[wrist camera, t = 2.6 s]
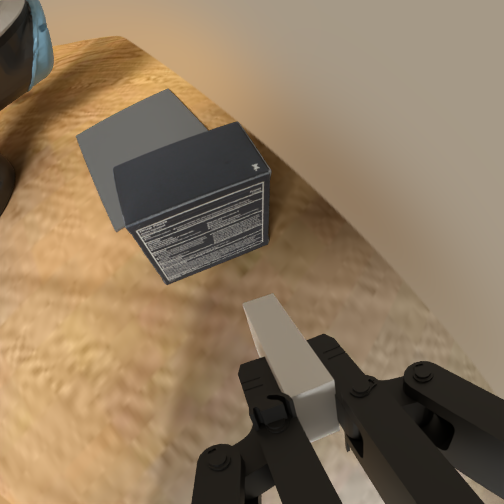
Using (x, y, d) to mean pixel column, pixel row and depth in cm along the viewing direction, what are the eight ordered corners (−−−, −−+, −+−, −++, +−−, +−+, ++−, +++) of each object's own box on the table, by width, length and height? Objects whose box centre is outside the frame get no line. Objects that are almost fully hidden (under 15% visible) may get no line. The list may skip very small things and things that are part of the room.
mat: (76, 137, 38) (75, 135, 38) (168, 90, 42) (167, 88, 41) (116, 232, 31) (115, 230, 31) (237, 164, 35) (237, 162, 34)
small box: (243, 193, 33) (239, 115, 23) (270, 244, 30) (277, 172, 21) (146, 231, 31) (109, 162, 22) (165, 287, 28) (124, 230, 19)
